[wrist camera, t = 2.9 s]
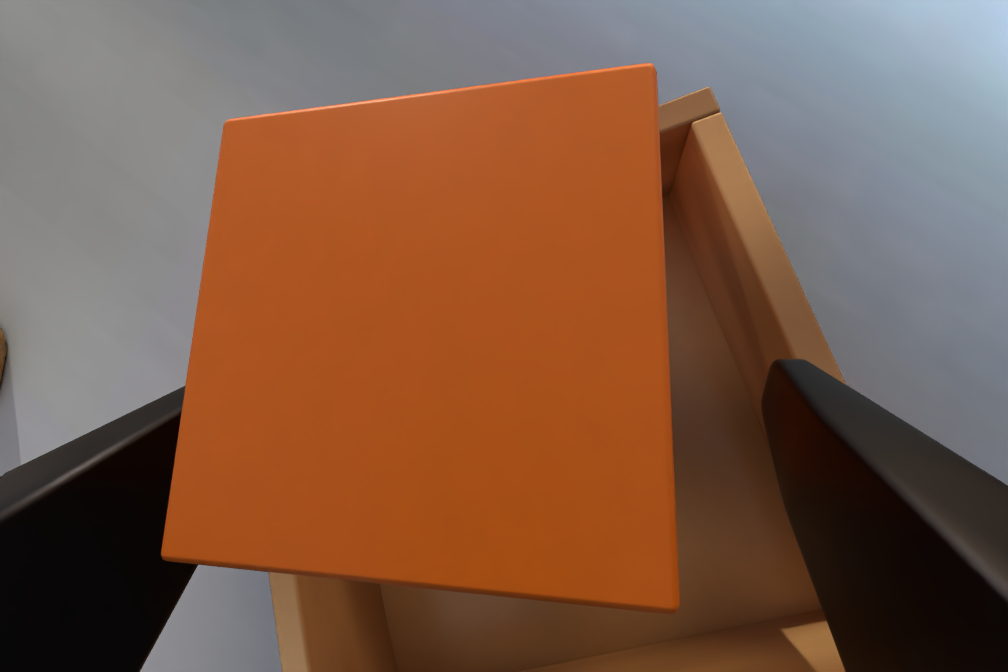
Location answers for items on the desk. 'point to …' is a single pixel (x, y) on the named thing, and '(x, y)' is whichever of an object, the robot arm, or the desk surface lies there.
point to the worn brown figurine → (2, 352)
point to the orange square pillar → (439, 347)
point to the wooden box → (697, 471)
